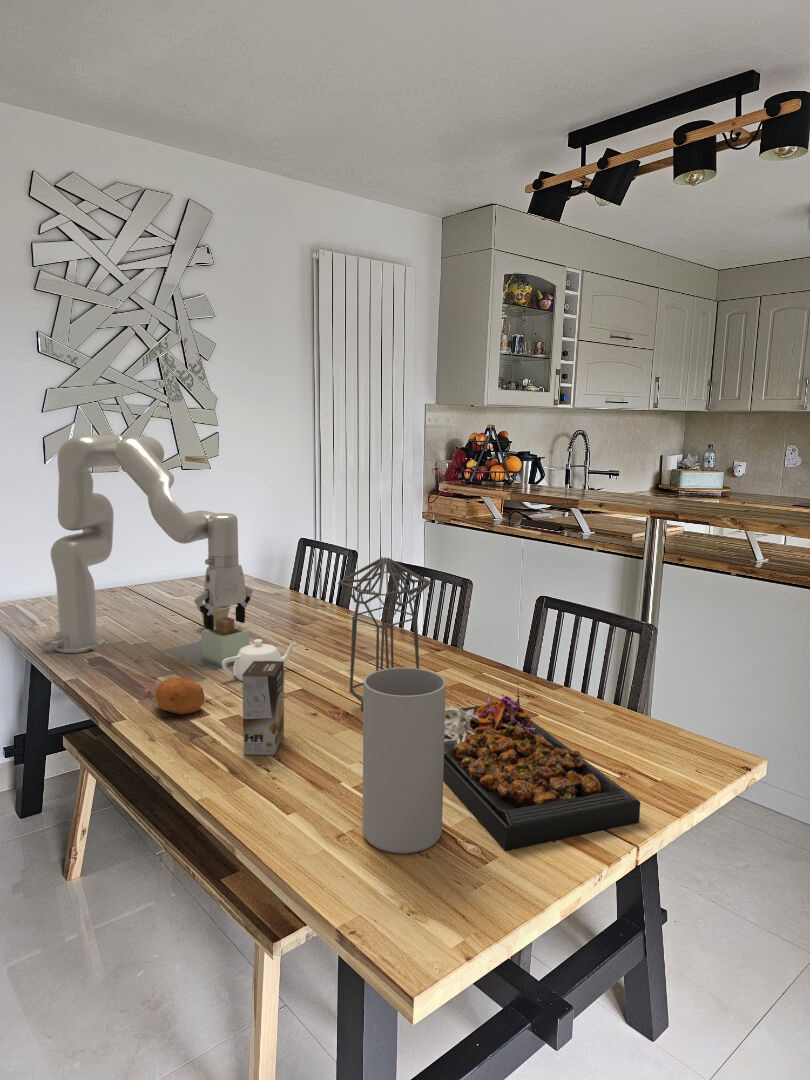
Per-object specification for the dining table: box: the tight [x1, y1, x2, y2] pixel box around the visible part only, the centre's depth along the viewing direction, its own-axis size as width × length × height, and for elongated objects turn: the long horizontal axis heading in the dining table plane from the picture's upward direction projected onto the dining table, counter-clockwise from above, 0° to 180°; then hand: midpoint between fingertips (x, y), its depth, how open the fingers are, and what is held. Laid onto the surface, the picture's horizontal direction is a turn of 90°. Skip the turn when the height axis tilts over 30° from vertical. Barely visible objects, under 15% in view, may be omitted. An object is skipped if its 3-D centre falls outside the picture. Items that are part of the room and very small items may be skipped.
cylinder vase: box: [361, 667, 447, 855], centre depth 114 cm, size 12×12×25 cm
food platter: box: [443, 687, 641, 853], centre depth 136 cm, size 45×25×10 cm, turn 21°
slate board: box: [163, 640, 233, 672], centre depth 200 cm, size 14×24×1 cm, turn 49°
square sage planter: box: [200, 626, 251, 668], centre depth 194 cm, size 8×9×8 cm
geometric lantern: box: [337, 556, 431, 711], centre depth 163 cm, size 16×16×35 cm
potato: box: [154, 677, 205, 715], centre depth 163 cm, size 9×11×8 cm
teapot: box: [221, 638, 297, 682], centre depth 183 cm, size 20×12×10 cm, turn 125°
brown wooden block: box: [216, 616, 236, 636], centre depth 194 cm, size 3×4×10 cm
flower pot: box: [199, 602, 232, 630], centre depth 221 cm, size 9×9×9 cm
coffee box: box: [242, 661, 285, 756], centre depth 146 cm, size 9×6×16 cm
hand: (225, 625), depth 194 cm, fingers open, 9 cm apart
